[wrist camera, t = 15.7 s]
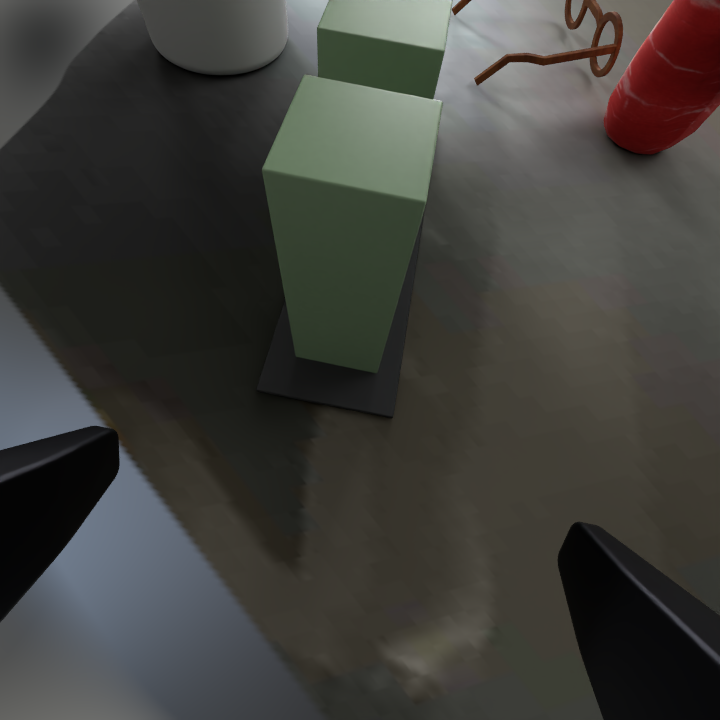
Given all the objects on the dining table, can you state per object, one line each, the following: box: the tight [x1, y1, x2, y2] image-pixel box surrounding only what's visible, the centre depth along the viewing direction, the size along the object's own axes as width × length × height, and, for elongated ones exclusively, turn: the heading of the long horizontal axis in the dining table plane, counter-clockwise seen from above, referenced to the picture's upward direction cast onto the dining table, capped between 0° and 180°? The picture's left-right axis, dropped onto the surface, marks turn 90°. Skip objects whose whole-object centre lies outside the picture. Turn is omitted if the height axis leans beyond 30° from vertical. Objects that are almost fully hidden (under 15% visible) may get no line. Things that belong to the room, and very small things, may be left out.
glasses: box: [452, 0, 623, 86], centre depth 38 cm, size 13×13×5 cm
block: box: [262, 75, 443, 373], centre depth 18 cm, size 5×5×13 cm
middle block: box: [317, 0, 453, 100], centre depth 22 cm, size 5×5×13 cm
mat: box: [256, 212, 424, 418], centre depth 28 cm, size 26×8×1 cm, turn 170°
